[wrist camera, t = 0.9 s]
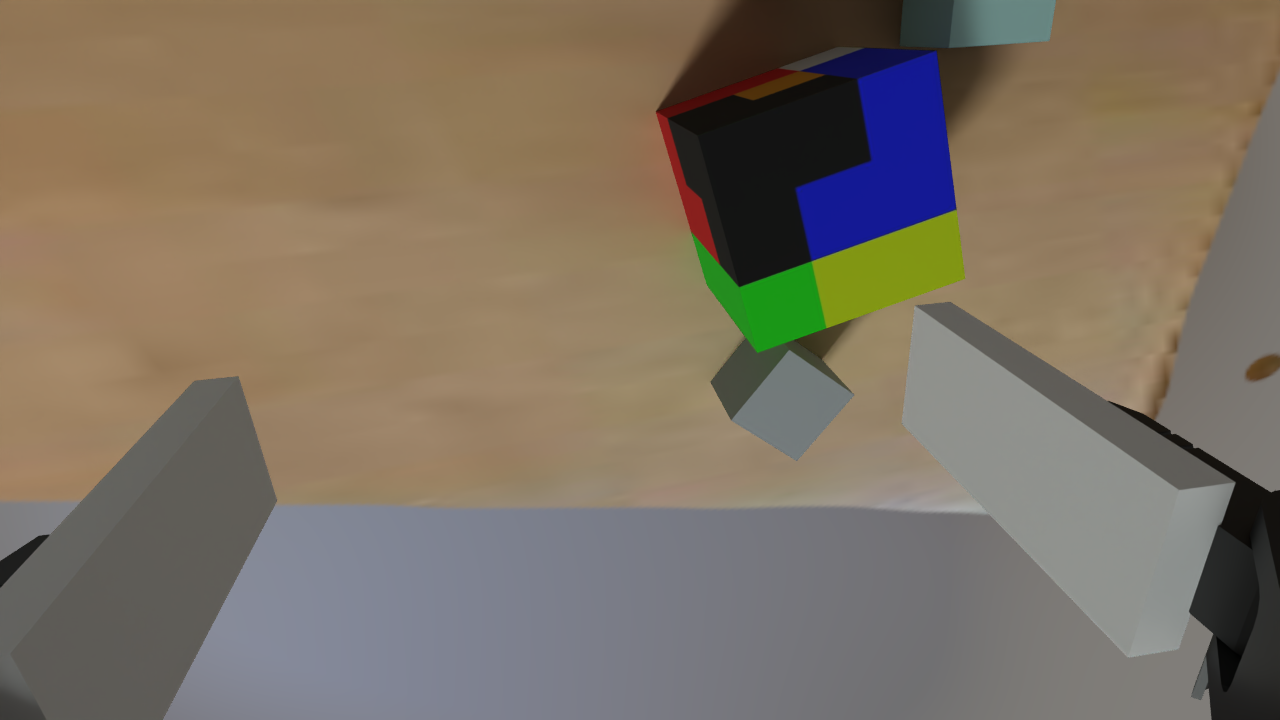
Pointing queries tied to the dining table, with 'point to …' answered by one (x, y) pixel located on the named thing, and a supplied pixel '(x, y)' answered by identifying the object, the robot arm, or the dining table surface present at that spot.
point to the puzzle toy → (819, 189)
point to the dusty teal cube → (975, 22)
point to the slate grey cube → (781, 394)
